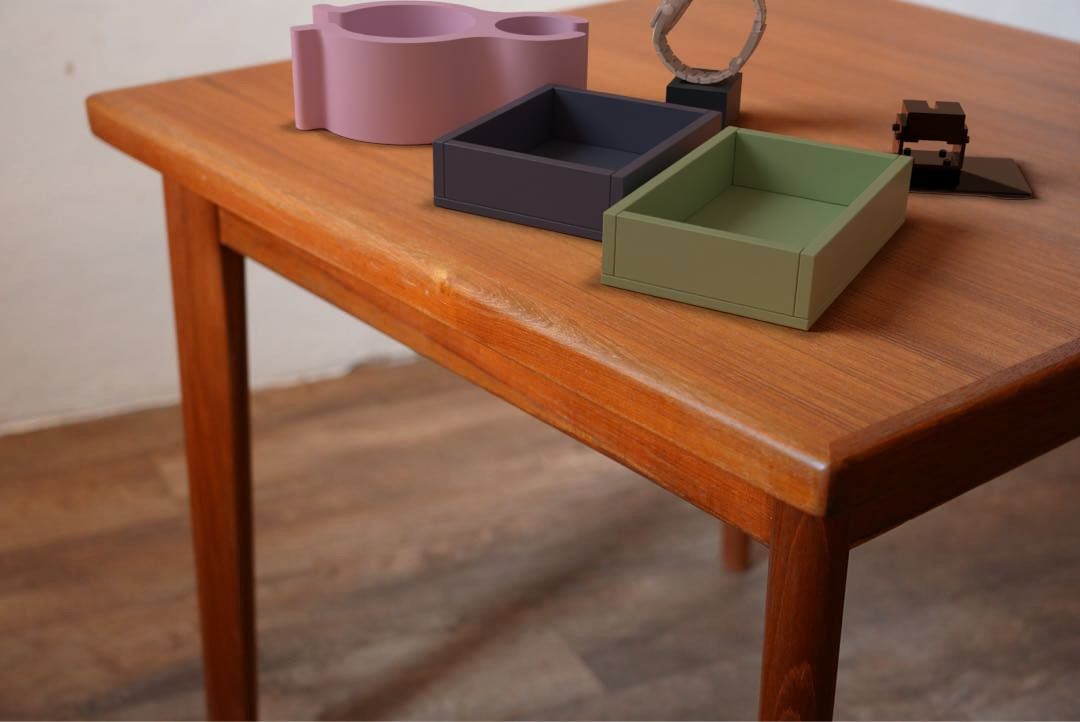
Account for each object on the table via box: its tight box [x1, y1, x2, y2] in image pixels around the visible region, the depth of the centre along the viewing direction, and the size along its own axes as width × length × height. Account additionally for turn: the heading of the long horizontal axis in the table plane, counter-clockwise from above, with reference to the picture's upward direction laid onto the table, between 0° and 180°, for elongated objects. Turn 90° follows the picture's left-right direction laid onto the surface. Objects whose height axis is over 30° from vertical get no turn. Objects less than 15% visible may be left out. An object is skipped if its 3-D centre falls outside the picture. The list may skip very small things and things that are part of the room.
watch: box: [649, 0, 768, 131], centre depth 101 cm, size 6×8×11 cm
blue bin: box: [432, 83, 722, 242], centre depth 90 cm, size 13×15×4 cm
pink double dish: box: [289, 0, 590, 145], centre depth 102 cm, size 20×12×7 cm, turn 85°
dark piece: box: [880, 99, 1033, 200], centre depth 93 cm, size 12×7×5 cm, turn 84°
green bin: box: [600, 125, 913, 331], centre depth 81 cm, size 12×18×4 cm, turn 151°
